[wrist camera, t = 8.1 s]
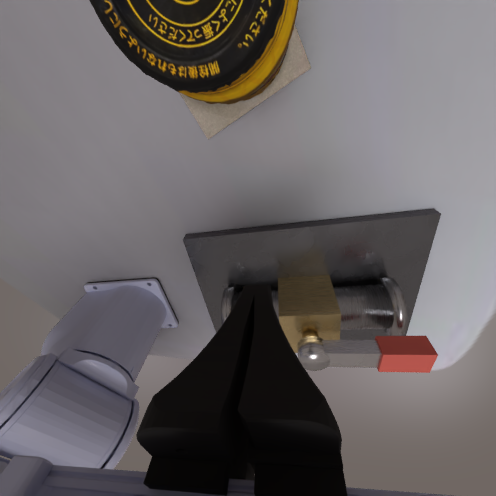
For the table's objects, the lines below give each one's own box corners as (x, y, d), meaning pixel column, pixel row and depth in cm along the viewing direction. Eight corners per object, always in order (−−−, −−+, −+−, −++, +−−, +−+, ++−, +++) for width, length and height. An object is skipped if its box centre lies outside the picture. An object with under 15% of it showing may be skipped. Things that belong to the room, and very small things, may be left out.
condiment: (310, 68, 16) (376, 19, 6) (208, 139, 19) (131, 191, 8) (255, -80, 12) (177, -787, 2) (143, 34, 15) (-101, -80, 5)
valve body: (221, 337, 32) (210, 392, 26) (186, 234, 23) (156, 280, 18) (400, 333, 28) (433, 395, 22) (433, 208, 20) (501, 256, 14)
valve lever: (297, 353, 21) (298, 370, 19) (296, 335, 19) (298, 353, 18) (418, 353, 19) (429, 373, 18) (426, 335, 18) (438, 354, 17)
